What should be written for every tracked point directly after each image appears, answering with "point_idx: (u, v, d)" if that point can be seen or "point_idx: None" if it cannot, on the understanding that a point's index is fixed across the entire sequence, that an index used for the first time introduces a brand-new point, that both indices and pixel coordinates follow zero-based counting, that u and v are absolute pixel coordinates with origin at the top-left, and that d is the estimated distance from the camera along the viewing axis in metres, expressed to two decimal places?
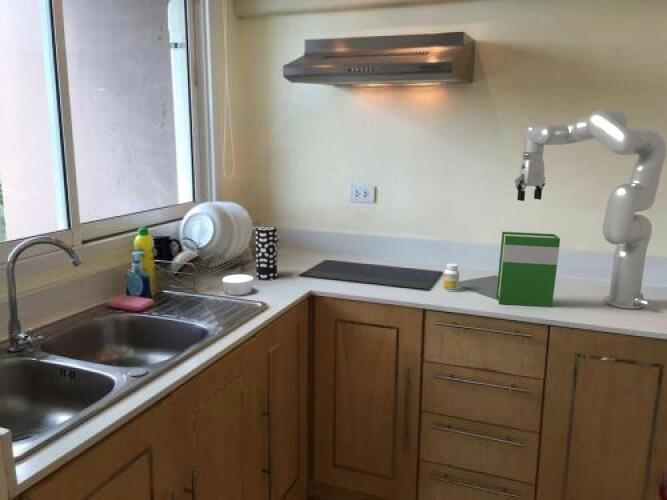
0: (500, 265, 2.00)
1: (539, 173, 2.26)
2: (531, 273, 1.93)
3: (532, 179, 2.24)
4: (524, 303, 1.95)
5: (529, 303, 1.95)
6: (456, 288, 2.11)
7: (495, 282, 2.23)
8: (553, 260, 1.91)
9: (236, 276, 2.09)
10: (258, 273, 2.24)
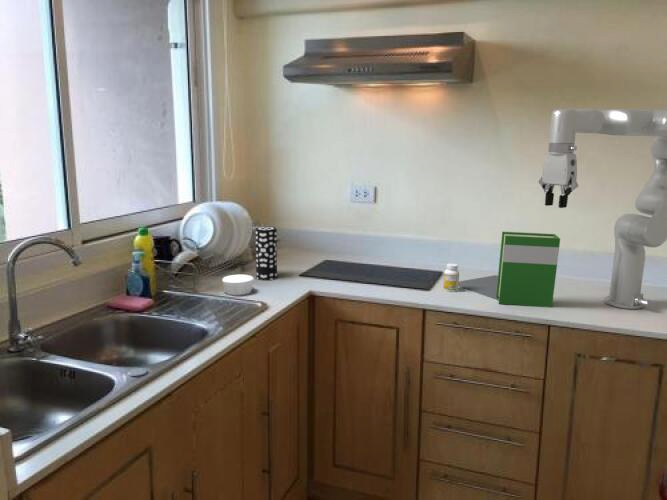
0: (500, 265, 2.00)
1: None
2: (531, 273, 1.93)
3: None
4: (524, 303, 1.95)
5: (529, 303, 1.95)
6: (456, 288, 2.11)
7: (495, 282, 2.23)
8: (553, 260, 1.91)
9: (236, 276, 2.09)
10: (258, 273, 2.24)
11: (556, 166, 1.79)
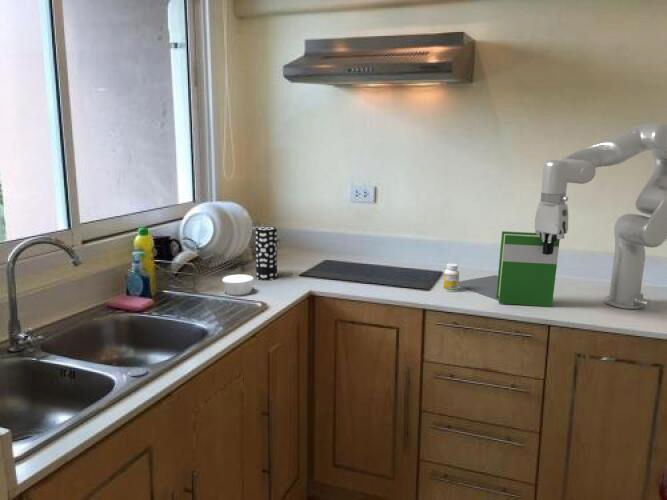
0: (500, 265, 2.00)
1: None
2: (530, 273, 1.93)
3: None
4: (524, 303, 1.95)
5: (529, 302, 1.95)
6: (456, 288, 2.11)
7: (495, 282, 2.23)
8: (553, 260, 1.91)
9: (236, 276, 2.09)
10: (258, 273, 2.24)
11: (548, 215, 1.83)
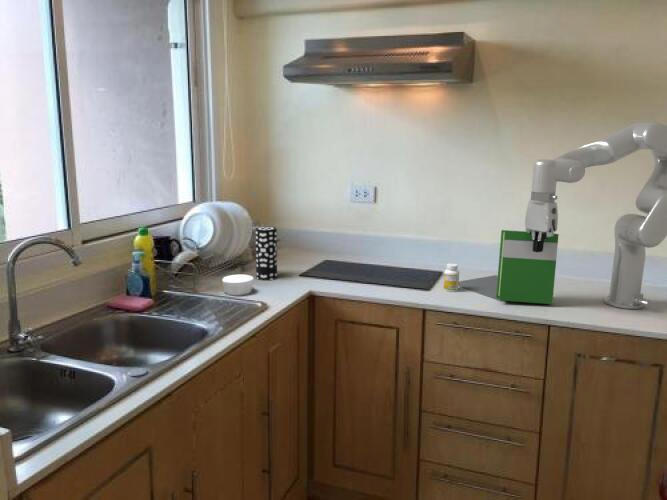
0: (500, 263, 2.02)
1: None
2: (530, 269, 1.94)
3: None
4: (524, 300, 1.95)
5: (529, 299, 1.95)
6: (456, 288, 2.11)
7: (495, 282, 2.23)
8: (552, 256, 1.93)
9: (236, 276, 2.09)
10: (258, 273, 2.24)
11: (538, 214, 1.87)
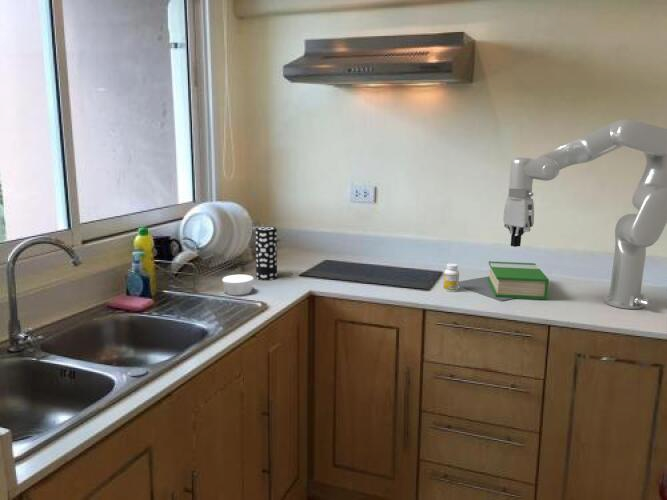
0: (492, 285, 2.15)
1: None
2: (519, 270, 2.12)
3: None
4: (521, 277, 2.02)
5: (525, 277, 2.02)
6: (456, 288, 2.11)
7: None
8: (535, 267, 2.16)
9: (236, 276, 2.09)
10: (258, 273, 2.24)
11: (515, 210, 1.95)
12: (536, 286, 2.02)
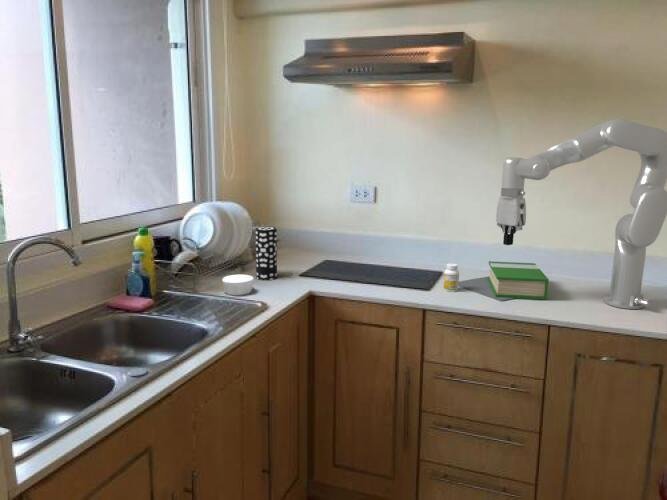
0: (492, 285, 2.15)
1: None
2: (519, 270, 2.12)
3: None
4: (521, 277, 2.02)
5: (525, 277, 2.02)
6: (456, 288, 2.11)
7: None
8: (535, 267, 2.16)
9: (236, 276, 2.09)
10: (258, 273, 2.24)
11: (507, 209, 1.98)
12: (536, 286, 2.02)
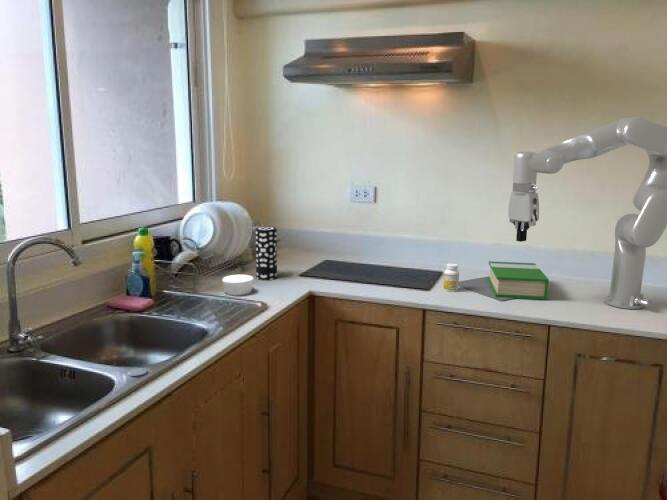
0: (492, 285, 2.15)
1: None
2: (519, 270, 2.12)
3: None
4: (521, 277, 2.02)
5: (525, 277, 2.02)
6: (456, 288, 2.11)
7: None
8: (535, 267, 2.16)
9: (236, 276, 2.09)
10: (258, 273, 2.24)
11: (520, 204, 1.93)
12: (536, 286, 2.02)
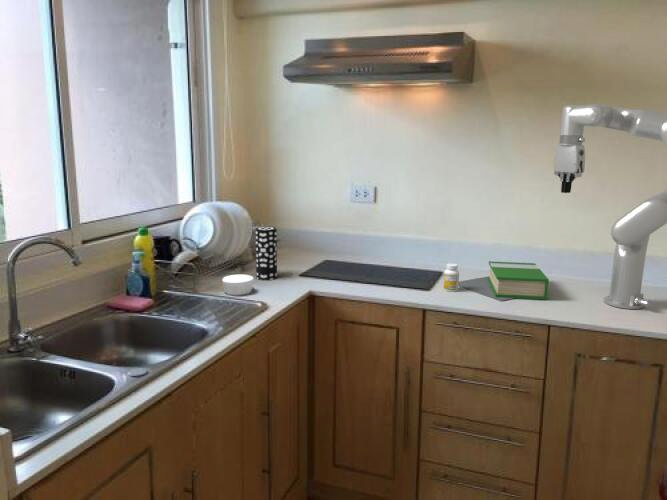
0: (492, 285, 2.15)
1: None
2: (519, 270, 2.12)
3: None
4: (521, 277, 2.02)
5: (525, 277, 2.02)
6: (456, 288, 2.11)
7: None
8: (535, 267, 2.16)
9: (236, 276, 2.09)
10: (258, 273, 2.24)
11: (566, 156, 2.00)
12: (536, 286, 2.02)
